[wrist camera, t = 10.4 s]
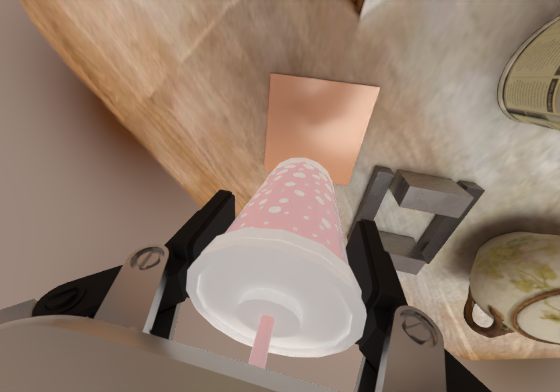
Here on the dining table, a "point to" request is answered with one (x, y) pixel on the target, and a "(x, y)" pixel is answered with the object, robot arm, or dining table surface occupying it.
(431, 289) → the dining table surface
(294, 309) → the beverage cup
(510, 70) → the coffee can
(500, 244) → the sugar bowl
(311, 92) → the terracotta tile
